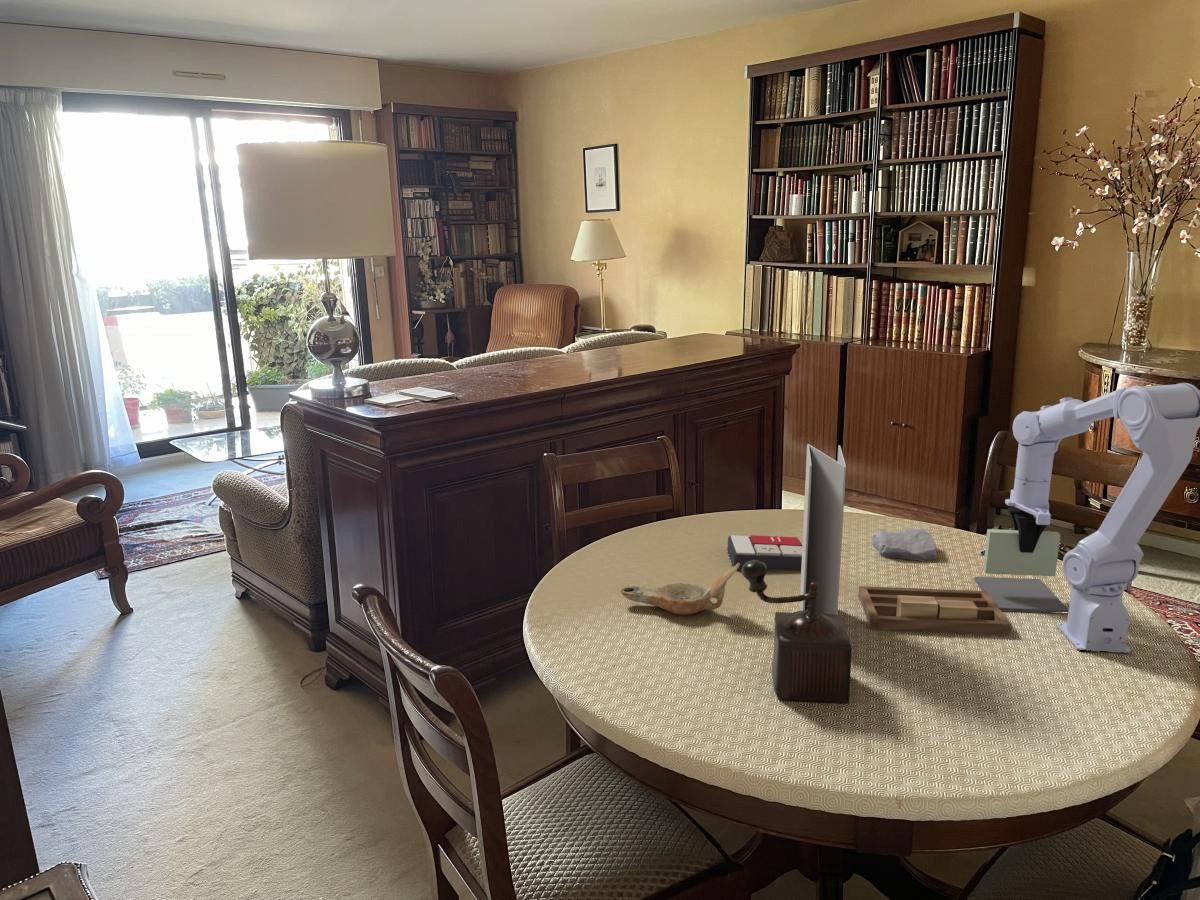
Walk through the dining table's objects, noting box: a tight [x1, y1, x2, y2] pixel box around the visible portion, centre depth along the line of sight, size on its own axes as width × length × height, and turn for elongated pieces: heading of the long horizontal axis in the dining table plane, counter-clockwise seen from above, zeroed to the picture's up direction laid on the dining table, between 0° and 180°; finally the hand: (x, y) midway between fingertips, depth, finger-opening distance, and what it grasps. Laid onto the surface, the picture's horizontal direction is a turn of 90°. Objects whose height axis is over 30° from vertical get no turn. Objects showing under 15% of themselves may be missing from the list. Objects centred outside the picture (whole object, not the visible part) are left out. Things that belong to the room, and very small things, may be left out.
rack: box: [858, 585, 1012, 636], centre depth 150 cm, size 14×22×2 cm, turn 82°
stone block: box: [871, 528, 938, 561], centre depth 179 cm, size 12×5×10 cm
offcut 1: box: [896, 595, 938, 618], centre depth 147 cm, size 3×6×4 cm, turn 82°
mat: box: [973, 576, 1069, 613], centre depth 157 cm, size 14×12×1 cm
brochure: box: [799, 443, 847, 615], centre depth 144 cm, size 14×6×30 cm, turn 168°
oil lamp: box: [620, 563, 740, 616], centre depth 153 cm, size 9×21×10 cm, turn 74°
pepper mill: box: [740, 560, 853, 704], centre depth 127 cm, size 16×11×18 cm
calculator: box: [726, 534, 803, 571], centre depth 176 cm, size 11×4×15 cm
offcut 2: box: [936, 600, 978, 620], centre depth 146 cm, size 3×6×4 cm, turn 82°
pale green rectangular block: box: [982, 528, 1061, 577], centre depth 155 cm, size 2×12×8 cm, turn 82°
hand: (1024, 549), depth 155 cm, fingers closed on pale green rectangular block, 2 cm apart
